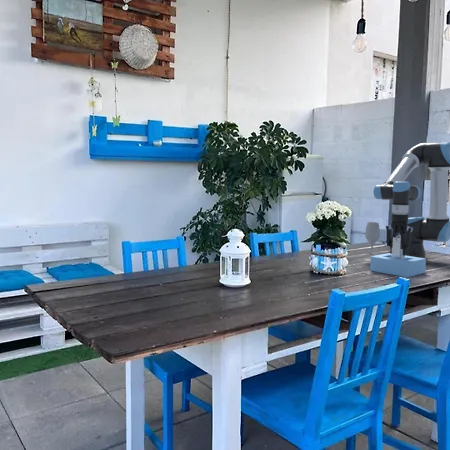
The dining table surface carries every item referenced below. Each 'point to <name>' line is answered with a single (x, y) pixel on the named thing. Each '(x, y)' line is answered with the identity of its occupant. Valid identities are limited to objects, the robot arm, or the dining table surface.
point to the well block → (398, 265)
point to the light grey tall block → (397, 247)
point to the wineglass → (372, 235)
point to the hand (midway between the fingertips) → (397, 261)
